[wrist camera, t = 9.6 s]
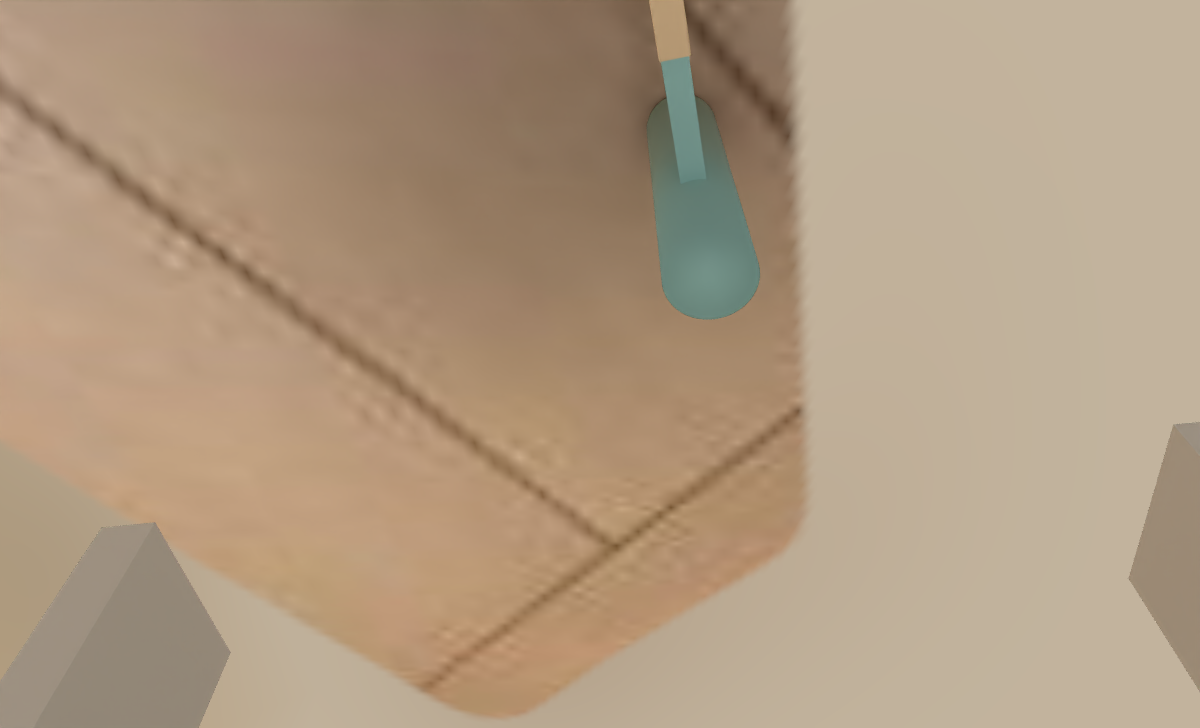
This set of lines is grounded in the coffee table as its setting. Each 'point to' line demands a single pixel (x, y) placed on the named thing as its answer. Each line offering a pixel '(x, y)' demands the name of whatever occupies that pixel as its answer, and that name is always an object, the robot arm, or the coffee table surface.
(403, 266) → the coffee table surface
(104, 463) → the coffee table surface
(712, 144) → the teal-tan flat piece
